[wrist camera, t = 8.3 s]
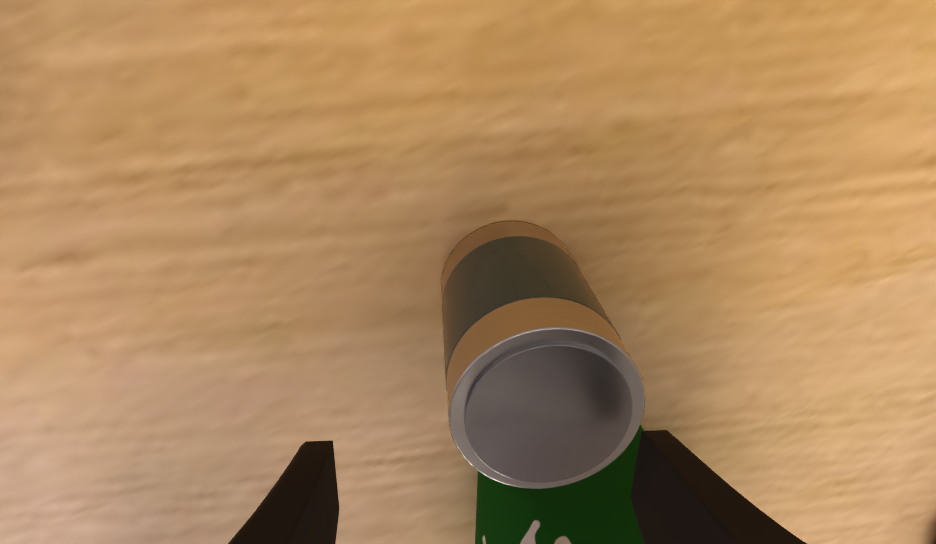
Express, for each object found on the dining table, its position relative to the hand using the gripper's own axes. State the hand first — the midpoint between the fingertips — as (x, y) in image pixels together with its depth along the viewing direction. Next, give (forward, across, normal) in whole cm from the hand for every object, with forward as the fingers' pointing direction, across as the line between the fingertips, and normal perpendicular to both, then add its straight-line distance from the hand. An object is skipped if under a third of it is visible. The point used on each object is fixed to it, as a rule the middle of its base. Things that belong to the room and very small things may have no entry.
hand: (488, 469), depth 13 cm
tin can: (+10, -2, 0) cm, 10 cm away
